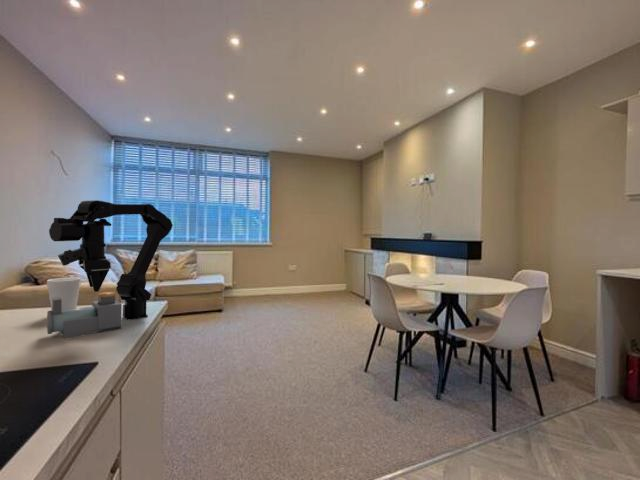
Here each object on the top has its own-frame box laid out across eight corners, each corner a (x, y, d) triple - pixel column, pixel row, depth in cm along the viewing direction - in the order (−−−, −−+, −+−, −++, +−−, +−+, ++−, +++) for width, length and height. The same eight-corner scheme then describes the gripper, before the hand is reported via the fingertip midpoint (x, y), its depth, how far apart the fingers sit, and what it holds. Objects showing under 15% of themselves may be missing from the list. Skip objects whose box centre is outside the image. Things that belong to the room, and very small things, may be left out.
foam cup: (79, 309, 117) (79, 276, 117) (82, 314, 110) (82, 279, 110) (46, 314, 110) (46, 278, 110) (47, 319, 104) (47, 282, 103)
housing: (113, 321, 103) (114, 298, 103) (121, 328, 96) (121, 304, 96) (60, 330, 93) (60, 305, 93) (63, 339, 86) (64, 311, 86)
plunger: (113, 303, 100) (113, 291, 100) (116, 305, 97) (116, 293, 97) (96, 305, 97) (96, 293, 97) (99, 308, 94) (99, 295, 94)
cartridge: (91, 323, 97) (92, 293, 97) (95, 328, 92) (96, 296, 92) (46, 331, 89) (47, 297, 89) (48, 336, 85) (48, 301, 85)
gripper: (57, 239, 96) (59, 287, 97) (61, 242, 83) (63, 298, 83) (100, 238, 104) (101, 283, 105) (110, 241, 90) (111, 292, 91)
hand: (94, 289), depth 96 cm, fingers open, 9 cm apart
